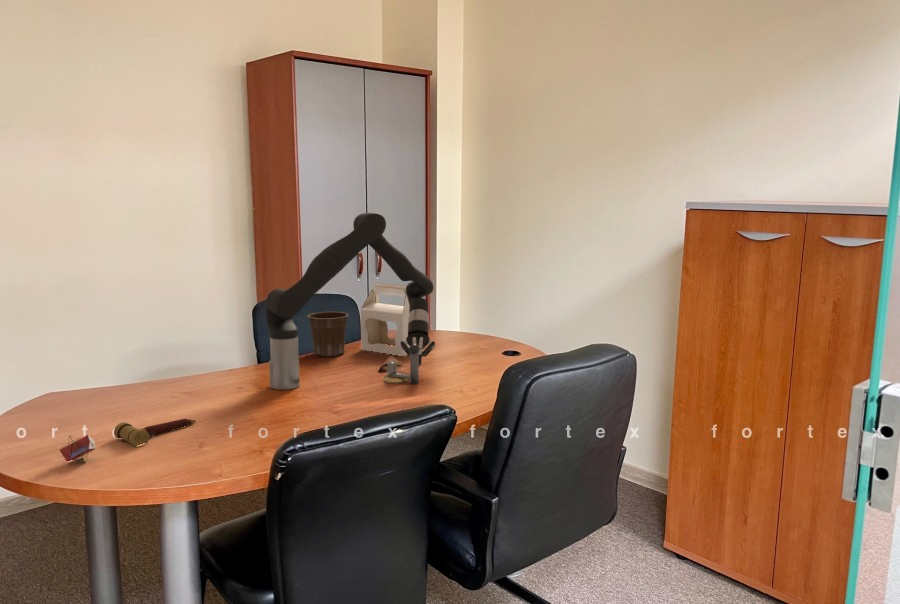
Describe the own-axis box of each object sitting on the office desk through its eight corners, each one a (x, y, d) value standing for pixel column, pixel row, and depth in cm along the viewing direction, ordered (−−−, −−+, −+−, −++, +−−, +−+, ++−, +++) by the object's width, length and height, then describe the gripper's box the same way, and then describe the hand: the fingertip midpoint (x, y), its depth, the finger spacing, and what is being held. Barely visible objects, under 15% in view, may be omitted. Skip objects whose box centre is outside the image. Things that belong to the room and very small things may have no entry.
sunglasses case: (401, 376, 244) (391, 360, 244) (384, 385, 245) (375, 370, 245) (408, 364, 262) (399, 349, 261) (393, 372, 263) (384, 358, 262)
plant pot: (304, 351, 282) (303, 312, 280) (342, 347, 289) (341, 310, 286) (314, 360, 268) (313, 319, 265) (354, 356, 274) (353, 316, 272)
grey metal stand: (379, 381, 233) (379, 342, 230) (392, 376, 240) (392, 338, 237) (412, 387, 226) (412, 347, 224) (425, 381, 233) (425, 342, 231)
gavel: (185, 409, 198) (205, 416, 192) (185, 425, 198) (205, 432, 192) (113, 424, 181) (132, 432, 175) (113, 440, 182) (132, 449, 176)
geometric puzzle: (55, 462, 161) (75, 432, 163) (51, 453, 167) (71, 424, 168) (83, 474, 165) (103, 445, 167) (79, 464, 171) (98, 436, 172)
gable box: (360, 350, 285) (359, 283, 280) (380, 344, 296) (379, 280, 291) (403, 357, 273) (403, 288, 269) (422, 350, 284) (422, 284, 280)
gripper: (399, 318, 245) (397, 360, 235) (436, 318, 245) (436, 360, 235) (400, 330, 251) (398, 371, 241) (436, 330, 251) (436, 371, 241)
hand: (417, 365), depth 238 cm, fingers closed
